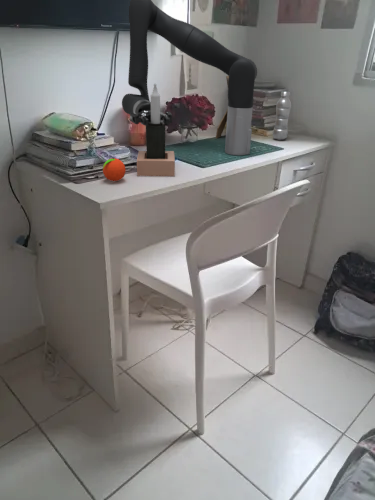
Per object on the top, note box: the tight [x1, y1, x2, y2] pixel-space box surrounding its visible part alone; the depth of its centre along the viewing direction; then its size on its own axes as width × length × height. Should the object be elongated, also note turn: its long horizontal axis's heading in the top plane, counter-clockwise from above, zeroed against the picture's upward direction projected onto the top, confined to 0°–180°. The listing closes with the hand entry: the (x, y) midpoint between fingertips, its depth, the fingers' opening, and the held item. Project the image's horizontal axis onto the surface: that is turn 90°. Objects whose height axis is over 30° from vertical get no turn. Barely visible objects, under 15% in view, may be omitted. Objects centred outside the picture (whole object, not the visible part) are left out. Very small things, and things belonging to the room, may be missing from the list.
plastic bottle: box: [272, 90, 292, 141], centre depth 174 cm, size 6×7×20 cm
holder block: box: [136, 150, 176, 177], centre depth 133 cm, size 12×12×5 cm
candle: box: [145, 83, 166, 159], centre depth 127 cm, size 5×5×25 cm
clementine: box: [102, 157, 126, 182], centre depth 122 cm, size 8×7×7 cm
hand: (157, 122), depth 124 cm, fingers closed on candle, 6 cm apart
